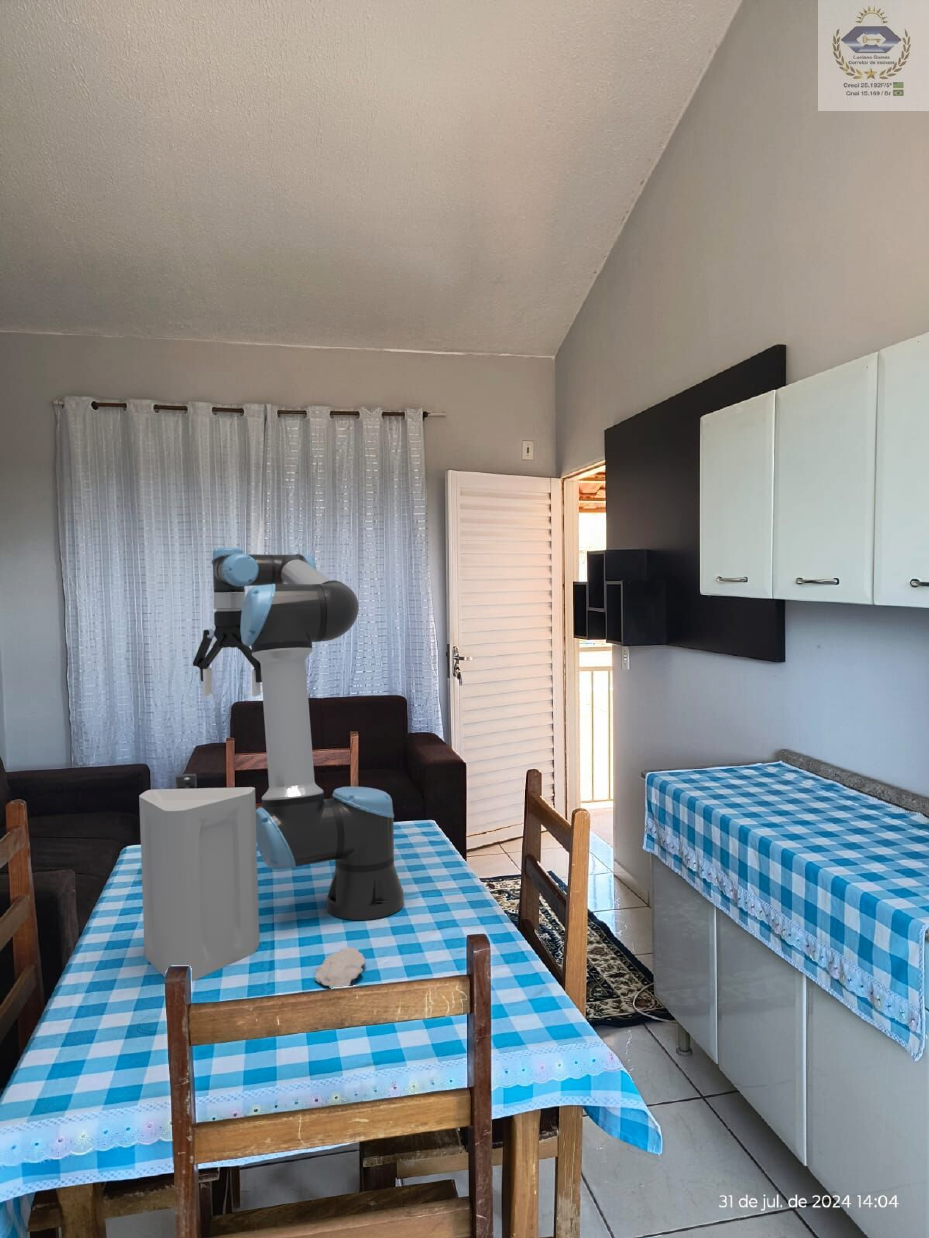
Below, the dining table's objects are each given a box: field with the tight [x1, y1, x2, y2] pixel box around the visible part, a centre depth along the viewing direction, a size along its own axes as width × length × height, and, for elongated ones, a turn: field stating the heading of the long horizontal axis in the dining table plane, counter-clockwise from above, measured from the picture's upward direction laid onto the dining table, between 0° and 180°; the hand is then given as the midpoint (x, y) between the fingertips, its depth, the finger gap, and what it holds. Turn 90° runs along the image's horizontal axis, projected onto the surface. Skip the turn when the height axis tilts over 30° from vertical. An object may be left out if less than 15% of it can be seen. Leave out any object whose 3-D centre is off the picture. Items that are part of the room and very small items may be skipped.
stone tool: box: [314, 947, 366, 989], centre depth 133 cm, size 8×3×15 cm
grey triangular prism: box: [138, 786, 260, 982], centre depth 138 cm, size 19×15×28 cm
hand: (232, 695), depth 204 cm, fingers open, 13 cm apart
